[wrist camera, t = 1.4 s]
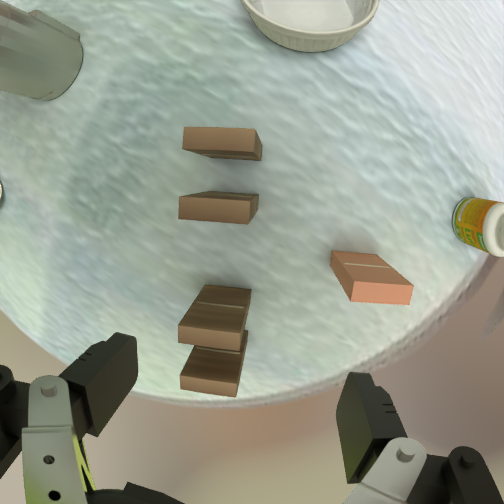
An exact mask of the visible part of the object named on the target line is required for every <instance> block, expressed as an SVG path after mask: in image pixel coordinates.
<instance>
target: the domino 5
mask: <svg viewBox="0 0 504 504" xmlns="http://www.w3.org/2000/svg"><path fill="white" fill-rule="evenodd" d="M330 266H331V268H332V270H333V271H334V273H335V275H336V277H337V278H338V280H339V282H340V284H341V285H342V287H343V289H344V291H345V292H346V294H347V296H348V298H349V300H350V301H351V302H365V303H382V304H401V305H409V304H410V300H411V296H412V291H413V287H414V285H412V284H411V283H410V282H409V281H408V280H407V279H405V278H404V277H403V276H402V275H401V274H399V273H398V272H397V271H396V270H395V269H394V268H392V267H391V266H390V265H389V264H387V263H386V262H385V261H384V260H383V259H381V258H380V257H379V256H378V255H373V254H362V253H352V252H342V251H332V255H331V263H330Z"/></svg>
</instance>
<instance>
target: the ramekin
mask: <svg viewBox="0 0 504 504" xmlns="http://www.w3.org/2000/svg"><path fill="white" fill-rule="evenodd" d="M241 2H242V4H243V6H244V7H245V8H246V10H247V11H248V12H249V14H250V16H251V17H252V19H253V21H254V22H255V24H256V26H257V27H258V28H259V29H260V31H261V32H262V33H264V34H265V35H266V36H267V37H268V38H270V39H271V40H272V41H274V42H276V43H277V44H279V45H282V46H284V47H287V48H290V49H293V50H297V51H304V52H321V51H327V50H330V49H334V48H336V47H338V46H341V45H342V44H344V43H346V42H347V41H348V40H350V39H351V38H352V37H353V36H354V35H355V34H356V33H357V32H358V31H359V30H361V29H362V28H364V27H365V26H366V25H367V24H368V23H369V22H370V21H371V20H372V18H373V17H374V15H375V13H376V10H377V8H378V5H379V0H241Z"/></svg>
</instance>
